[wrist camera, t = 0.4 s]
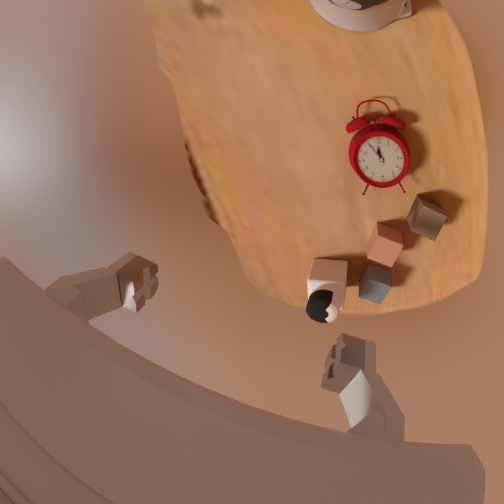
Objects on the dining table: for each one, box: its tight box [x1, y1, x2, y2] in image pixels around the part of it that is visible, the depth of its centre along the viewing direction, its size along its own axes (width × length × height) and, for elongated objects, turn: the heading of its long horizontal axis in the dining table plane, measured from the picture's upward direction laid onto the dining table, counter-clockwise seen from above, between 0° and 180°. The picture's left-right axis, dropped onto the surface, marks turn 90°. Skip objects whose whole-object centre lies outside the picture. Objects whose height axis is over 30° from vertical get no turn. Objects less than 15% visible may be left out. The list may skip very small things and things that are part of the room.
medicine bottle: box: [306, 259, 348, 323], centre depth 51 cm, size 7×7×12 cm
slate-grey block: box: [358, 263, 392, 304], centre depth 50 cm, size 5×5×5 cm
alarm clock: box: [346, 100, 409, 195], centre depth 37 cm, size 10×6×15 cm
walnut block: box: [407, 194, 447, 241], centre depth 39 cm, size 5×5×5 cm
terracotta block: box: [367, 222, 403, 267], centre depth 45 cm, size 5×5×5 cm
